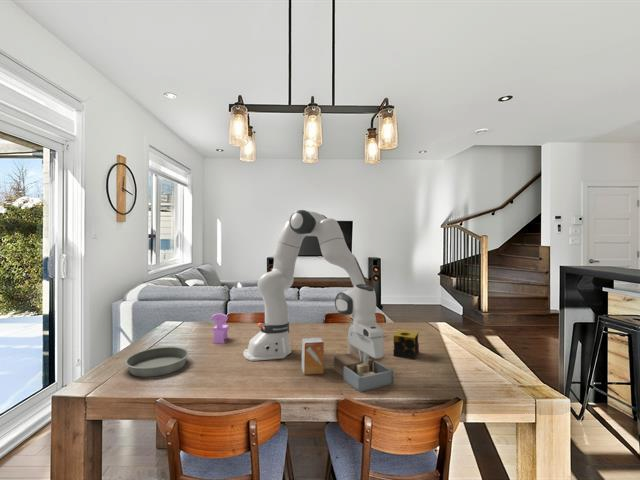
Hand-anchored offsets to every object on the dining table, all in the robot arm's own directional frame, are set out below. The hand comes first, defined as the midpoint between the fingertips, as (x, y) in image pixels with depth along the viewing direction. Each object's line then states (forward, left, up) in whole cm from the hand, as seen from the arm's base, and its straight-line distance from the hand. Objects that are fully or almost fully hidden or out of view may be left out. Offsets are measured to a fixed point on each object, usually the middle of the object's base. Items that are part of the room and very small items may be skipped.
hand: (364, 362), depth 133 cm
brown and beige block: (0, +8, -7) cm, 11 cm away
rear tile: (0, +3, -4) cm, 5 cm away
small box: (-15, +16, -7) cm, 23 cm away
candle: (+33, +15, -7) cm, 37 cm away
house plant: (+29, +49, -7) cm, 57 cm away
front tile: (0, -4, -4) cm, 5 cm away
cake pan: (-72, +49, -7) cm, 87 cm away
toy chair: (-42, +73, -7) cm, 84 cm away
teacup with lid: (+13, +26, -7) cm, 29 cm away
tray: (0, -3, -7) cm, 7 cm away
